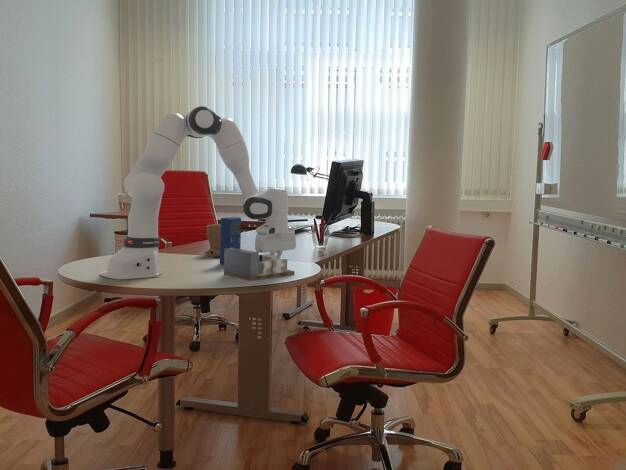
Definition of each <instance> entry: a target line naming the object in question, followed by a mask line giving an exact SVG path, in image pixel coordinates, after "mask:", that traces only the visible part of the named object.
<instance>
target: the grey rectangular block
mask: <svg viewBox="0 0 626 470" xmlns="http://www.w3.org/2000/svg"><path fill="white" fill-rule="evenodd" d="M258 263H259V252H256V251H254V250H247V249H242V248H240V249H237V248H224V265H223V273H224V272H229V273H234V274H238V275H243V276H248V277H254V276H258Z"/></svg>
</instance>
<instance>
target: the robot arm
mask: <svg viewBox="0 0 626 470" xmlns="http://www.w3.org/2000/svg"><path fill="white" fill-rule="evenodd" d="M186 137H189V138H192V139H201V138H204V137H210V138H211V139H212V140H213V141H214V144H215V146H216V148H217V152H218V153H219V156H220V158H221V160H222V162H223V164H224V165H225V166H226V168H227V169H228V170H229V171H230V172H231V173H232V174H233V176H234V178H235V179H236V182H237V185H238V187H239V190H240V192H241V195H242V210H243V213H244V215H245V216H246V217H247V218H249V219H251V220H260V219H265V223H263V224H261V225H260V226H258V227H256V229H255V232H256V236H255V241H254V246H255V247H254V249H255V252H259V253H264V254H267V253H269V254H270V255H276V260H279V259H281V257H282V254H283V252H286V251H293V250H295V249H296V247H297V240H296V238H297V237H296V234H295V233H296V231H295V229H294V228H293V227H292V226H291V227H288V226H289V219H288V213H289V196H288V193H287V191H286V190H285V189H283V188H278V187H272V186H271V187H269V188H267V189H266V190H264V191H262V192H259V191H258V189H257V186H256V184H255V182H254V179H253V176H252V175H251V174H252V173H251V170H250V156H249V152H248V151H249V150H248V147H247V144H246V142H245V139H244V136H243V134H242V133H241V131H240V128H239V127H238V125H237V123H236V122H235V121H234V119H232V118H229V117H224V118H222V117H221V116H220V115H219V114H217V113H216V112H215V111H214V110H213V109H212V108H210V107H208V106H203V105H202V106H196V107H195V108H192V110H190V111H189V112H188V113H187V114H186V115H182V114H180V113H177V112H168V113H166V114H165V115H164V116H163V117H162V119H161V120H160V121H159V123H158V124H157V125H156V128H155V129H154V130H153V133H152V135H151V136H150V139H149V140H148V142H147V145H146V147H145V149H144V150H143V152H142V154H141V155H140V157H139V158H138V160H137V161H136V162H135V163H134V165H133V167H132V168H131V170H130V172H128V175H127V176H125V179H124V182H123V188H124V190H125V192H126V193H127V195H128V196H129V197H131V204H130V210H129V213H128V215H127V236H126V238H122V237H119V238H118V239H117V241H118V243H119V244H123V247H121V248H120V249H119V250H118V251H117V252H116V253H114V254H113V255H112V256H111V257H109V259H108V263H107V266H106V267H107V268H106V270H103V271H101V272H100V275H101V276H102V277H104V278H108V279H114V280H130V279H133V280H134V279H144V278H145V279H146V278H155V277H157V278H158V277H159V276H160V275H161V274H162V270H161V265H160V259H159V247H160V237H159V214H160V208H161V205H162V198H163V194H164V192H165V182H164V181H163V179H162V176H163V175H164V173H165V172H166V171H167V170H168V169H169V168H170V167H171V165H172V164H173V162H174V160H175V157H176V155H177V154H178V151H179V149H180V148H181V145H182V143H183V142H184V140H185V138H186Z"/></svg>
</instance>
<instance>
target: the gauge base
mask: <svg viewBox="0 0 626 470" xmlns="http://www.w3.org/2000/svg"><path fill="white" fill-rule="evenodd" d="M223 276H225V277H230V278H235V279H238V280H239V279H240V280H245V281H248V282H252V281H258V280H265V279H274V278H280V277H288V276H295V270H291V269H288V259H287V258H282V259H281V258H280V259H279V260H270V261H262V262H259V263H258V276H254V277H248V276H243V275H238V274H234V273H229V272H224V271H223Z"/></svg>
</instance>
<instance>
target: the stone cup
mask: <svg viewBox="0 0 626 470" xmlns="http://www.w3.org/2000/svg"><path fill="white" fill-rule="evenodd" d="M205 234H206V237H207V241H208V242H209V249H207V250H206V251H204V254H205V255H206V256H208V257H211V258H217V257H220V248H221V223H213V224H207V225H206V232H205Z"/></svg>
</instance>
